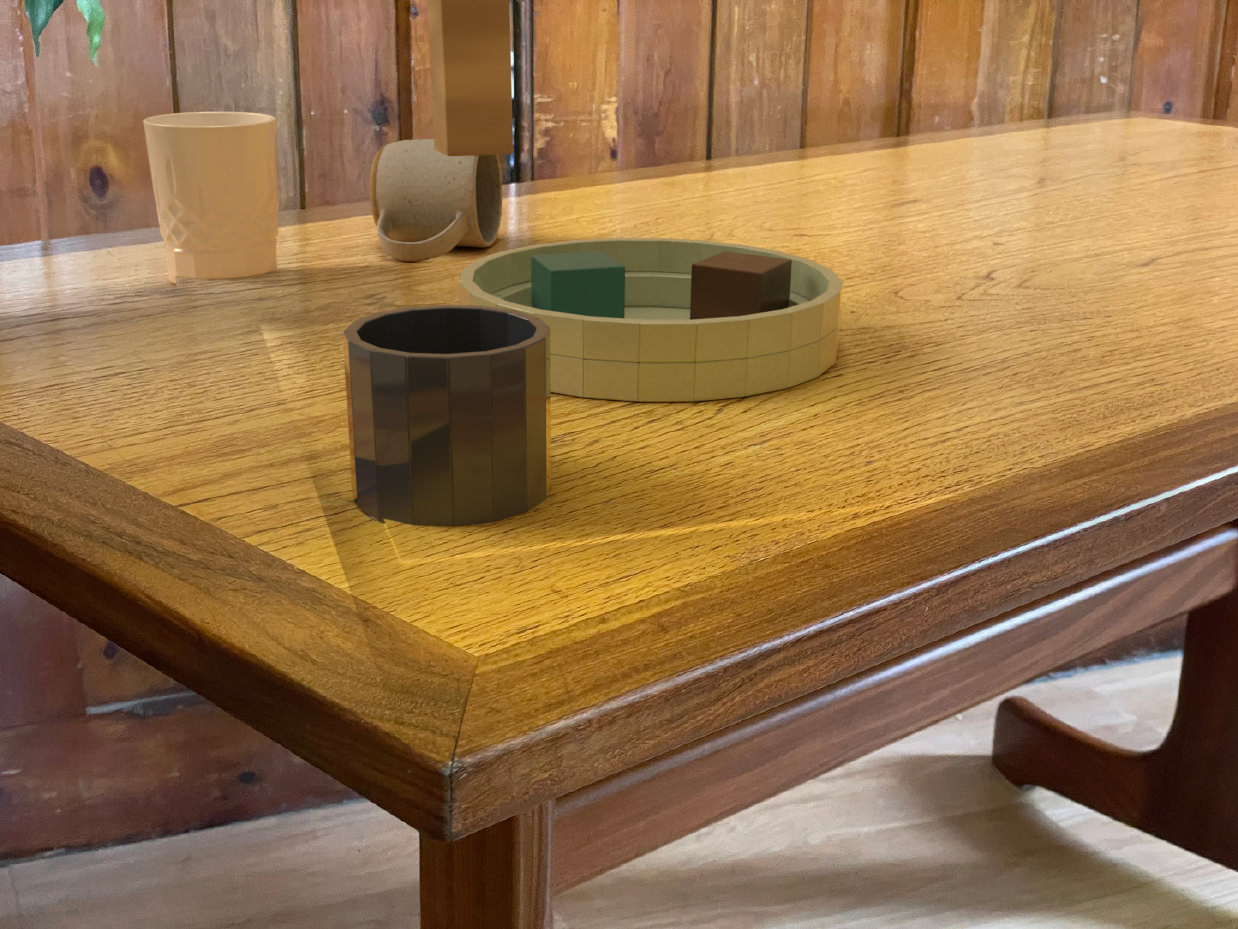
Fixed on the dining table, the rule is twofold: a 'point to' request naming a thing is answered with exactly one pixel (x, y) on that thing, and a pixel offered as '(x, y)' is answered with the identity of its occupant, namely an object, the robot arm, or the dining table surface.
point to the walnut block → (739, 285)
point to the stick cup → (448, 414)
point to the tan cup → (215, 192)
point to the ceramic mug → (433, 200)
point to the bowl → (670, 324)
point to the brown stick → (471, 77)
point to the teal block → (578, 284)
